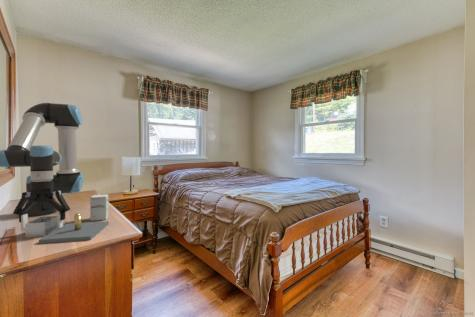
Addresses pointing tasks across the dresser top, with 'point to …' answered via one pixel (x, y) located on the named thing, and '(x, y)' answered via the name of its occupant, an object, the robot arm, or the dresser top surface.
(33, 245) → the dresser top surface
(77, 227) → the peg
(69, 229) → the board
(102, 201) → the supplement box
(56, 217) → the grey rectangular box
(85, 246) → the dresser top surface
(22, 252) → the dresser top surface
